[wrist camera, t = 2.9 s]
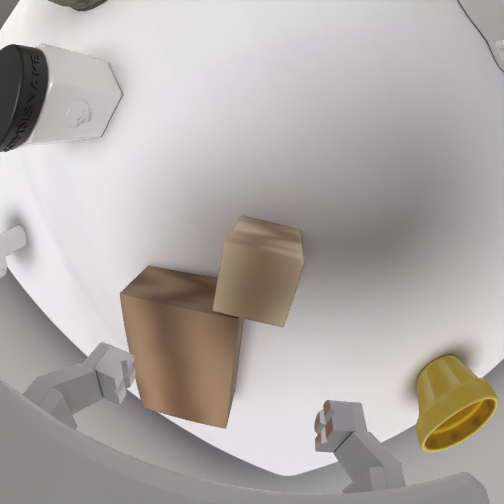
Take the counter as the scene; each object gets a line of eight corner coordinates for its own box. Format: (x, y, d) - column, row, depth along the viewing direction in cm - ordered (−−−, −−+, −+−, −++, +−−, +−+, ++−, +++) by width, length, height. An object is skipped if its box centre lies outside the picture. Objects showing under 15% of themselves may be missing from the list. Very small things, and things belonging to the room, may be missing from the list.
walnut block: (248, 281, 26) (237, 318, 20) (234, 391, 32) (226, 428, 26) (149, 264, 27) (119, 293, 21) (159, 374, 33) (143, 407, 27)
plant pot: (397, 366, 27) (420, 430, 18) (469, 329, 25) (505, 382, 16) (406, 407, 30) (421, 461, 21) (467, 377, 27) (491, 425, 18)
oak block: (299, 229, 23) (304, 262, 17) (285, 281, 25) (283, 327, 19) (241, 215, 23) (223, 243, 17) (231, 268, 25) (212, 310, 19)
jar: (95, 158, 23) (-2, 179, 12) (50, 127, 22) (-36, 138, 11) (136, 74, 20) (42, 46, 8) (85, 53, 19) (-1, 33, 8)
